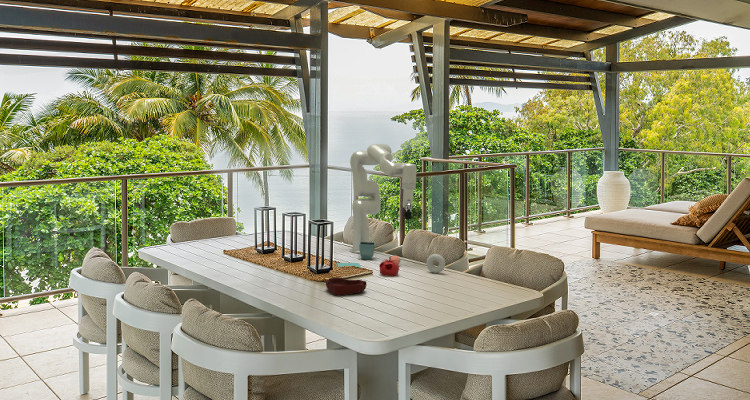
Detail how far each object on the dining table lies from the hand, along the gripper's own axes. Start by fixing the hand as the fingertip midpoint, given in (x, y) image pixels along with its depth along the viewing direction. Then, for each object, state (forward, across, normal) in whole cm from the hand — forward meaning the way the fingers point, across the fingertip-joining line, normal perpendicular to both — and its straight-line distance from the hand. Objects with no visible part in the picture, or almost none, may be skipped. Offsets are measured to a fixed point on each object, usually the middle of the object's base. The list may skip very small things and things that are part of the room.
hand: (407, 218), depth 359 cm
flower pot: (+25, -12, -22) cm, 35 cm away
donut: (+26, +21, +14) cm, 36 cm away
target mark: (+25, +8, -31) cm, 41 cm away
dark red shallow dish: (+26, +69, -31) cm, 80 cm away
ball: (+23, +5, -6) cm, 24 cm away
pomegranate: (+26, +29, -10) cm, 40 cm away
